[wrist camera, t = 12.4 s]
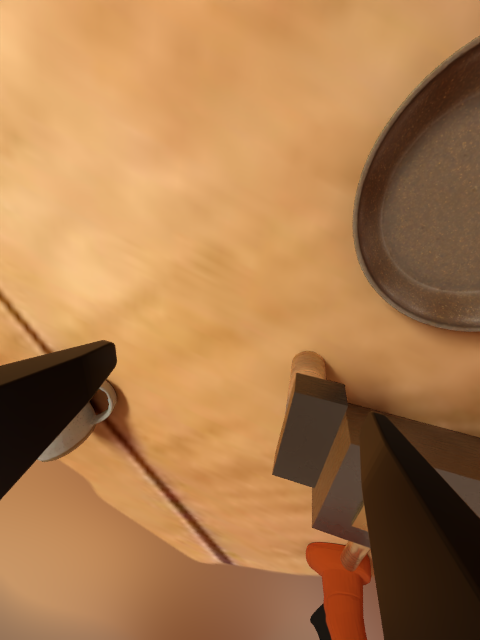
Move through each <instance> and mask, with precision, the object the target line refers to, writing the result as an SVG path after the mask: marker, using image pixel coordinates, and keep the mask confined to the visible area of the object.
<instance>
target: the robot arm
mask: <svg viewBox="0 0 480 640" xmlns="http://www.w3.org/2000/svg"><path fill="white" fill-rule="evenodd" d="M116 363H117V357H116V349H115V345H114V343H112V342H109V341H105V340H101V341H97V342H93V343H89V344H85V345H81V346H77V347H73V348H69V349H65V350H61V351H57V352H53V353H49V354H45V355H41V356H37V357H33V358H29V359H25V360H22V361H18V362H14V363H10V364H6V365H2V366H0V500H1V499H2V497H3V496H4V495H5V494H6V493H7V492H8V491H9V490H10V489H11V488H12V486H13V485H14V484H15V483H16V482H17V481H18V480H19V479H20V478H21V477H22V475H23V474H24V473H25V472H26V471H27V470H28V469H29V468H30V467H31V465H32V464H33V463H34V462H35V461H36V460H37V459H38V458H39V457H40V456H41V454H42V453H43V452H44V451H45V450H46V449H47V448H48V447H49V446H50V444H51V443H52V442H53V441H54V440H55V439H56V438H57V437H58V436H59V434H60V433H61V432H62V431H63V430H64V429H65V428H66V427H67V426H68V424H69V423H70V422H71V421H72V420H73V419H74V418H75V417H76V416H77V415H78V413H79V412H80V411H81V410H82V409H83V408H84V407H85V406H86V404H87V403H88V402H89V401H90V400H91V399H92V397H93V396H94V395H95V393H96V392H97V391H98V389H99V388H100V387H101V385H102V384H103V383H104V381H105V380H106V379H107V377H108V376H109V375H110V373H111V372H112V371H113V369H114V368H115V366H116ZM359 438H360V465H361V486H362V494H363V501H364V508H365V514H366V521H367V528H368V534H369V541H370V548H371V554H372V561H373V568H374V574H375V581H376V588H377V594H378V600H379V607H380V614H381V620H382V628H383V634H384V640H480V518H479V517H478V516H477V514H476V513H475V512H474V511H473V510H472V509H471V508H470V507H469V506H468V505H467V504H466V502H465V501H464V500H463V499H462V498H461V497H460V496H459V495H458V494H457V493H456V492H455V490H454V489H453V488H452V487H451V486H450V485H449V484H448V483H447V482H446V481H445V480H444V478H443V477H442V476H441V475H440V474H439V473H438V472H437V471H436V470H435V469H434V468H433V466H432V465H431V464H430V463H429V462H428V461H427V460H426V459H425V458H424V457H423V456H422V455H421V453H420V452H419V451H418V450H417V449H416V448H415V447H414V446H413V445H412V444H411V443H410V441H409V440H408V439H407V438H406V437H405V436H404V435H403V434H402V433H401V432H400V431H399V429H398V428H397V427H396V426H395V425H394V424H393V423H392V422H391V421H390V420H389V419H388V417H387V416H386V415H384V414H381V413H378V412H374V411H371V412H369V413H368V415H367V417H366V419H365V421H364V423H363V425H362V427H361V430H360V436H359Z"/></svg>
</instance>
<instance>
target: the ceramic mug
mask: <svg viewBox="0 0 480 640" xmlns="http://www.w3.org/2000/svg"><path fill="white" fill-rule="evenodd" d="M99 389H100V390H102V391H104V392H105V393H106V394H107V396H108V403H109V407H108V409H107V410H106V411H105V412H102V413H101V414H98V415H96V414H95V412H94V409H93V407H92V406H91V404H90V403H89V402H88V403H87V404H86V406H85V407H84V408H83V409H82V410H81V411H80V412H79V413H78V415H77V416H76V417H75V418H74V419H73V420H72V421H71V422H70V423H69V424H68V426H67V427H66V428H65V429H64V430H63V431H62V432H61V433H60V434H59V436H58V437H57V438H56V439H55V440H54V441H53V442H52V443H51V444H50V446H49V447H48V448H47V449H46V450H45V451H44V452H43V453H42V454H41V456H40V457H39V458H38V459H37V460H40V461H42V462H48V461H53V460H56V459H59V458H61V457H63V456H65V455H67V454H69V453H70V452H72V451H73V450H75V449H76V448H77V447H79V446H80V445H81V444H82V443H83V442H84V441H85V440H86V439H87V438H88V437H89V436H90V434H91V433H92V431H93V430H94V428H95V425H96V424H97V423H100V422H101V421H103V420H105V419H106V418H107V417H108V416H109V415H110V414H111V412H112V411H113V409H114V407H115V404H116V393H115V390H114V389H113V387H112V385H111V384H110V383H108V382H107V381H106V380H105V381H104V383H103V384H102V385H101V387H100V388H99Z"/></svg>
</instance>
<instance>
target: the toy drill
mask: <svg viewBox="0 0 480 640" xmlns="http://www.w3.org/2000/svg"><path fill="white" fill-rule="evenodd" d="M344 548H345V545H339V544H333V543H322V542H317V543H311V544H309V545H308V546H307V549H306V559H307V562H308V564H309V566H310V567H311V568H312V569H313V570H315V571H316V572H317V573H318V574H319V575H321V576H322V582H323V591H324V603H323V604H322V605H321V606H320V607H319V608H318V609H317V610H316V612H314V614H313V615H312V616H311V619H310V621H311V623H312V624H313V625H314V627H315V629H316V631H317V633H318V635H319V638H320V640H367V637H366V633H365V626H364V619H363V585H366V584H368V583H369V582H370V580H371V566H370V560H369V557H368V556H367V554H366V555H365V557H364V558H363V560H362V561H361V563H360V564H359V565H358V567H357V568H356V570H355V571H348V570H347V569H345V568H344V566H343V565H342V563H341V560H340V555H341V553H342V551H343V549H344Z"/></svg>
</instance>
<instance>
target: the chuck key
mask: <svg viewBox="0 0 480 640" xmlns="http://www.w3.org/2000/svg"><path fill="white" fill-rule="evenodd" d="M347 407H348V403H347V397H346V391H345V385H344V384H341V383H337V382H333V381H329V380H326V372H325V362H324V360H323V358H322V357H321V356H320V355H319V354H317V353H315V352H311V351H304V352H301V353H299V354H297V355H296V356H295V357H294V359H293V361H292V368H291V375H290V383H289V390H288V398H287V405H286V412H285V418H284V422H283V426H282V430H281V433H280V437H279V441H278V445H277V449H276V453H275V460H274V466H273V473H272V475H275V476H278V477H281V478H284V479H287V480H291V481H294V482H297V483H300V484H303V485H306V486H309V487H312V488H315V487H316V484H317V482H318V479H319V477H320V474H321V472H322V469H323V467H324V464H325V462H326V459H327V457H328V454H329V452H330V450H331V447H332V445H333V442H334V440H335V437H336V435H337V432H338V430H339V427H340V425H341V422H342V420H343V417H344V415H345V412H346V410H347Z"/></svg>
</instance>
